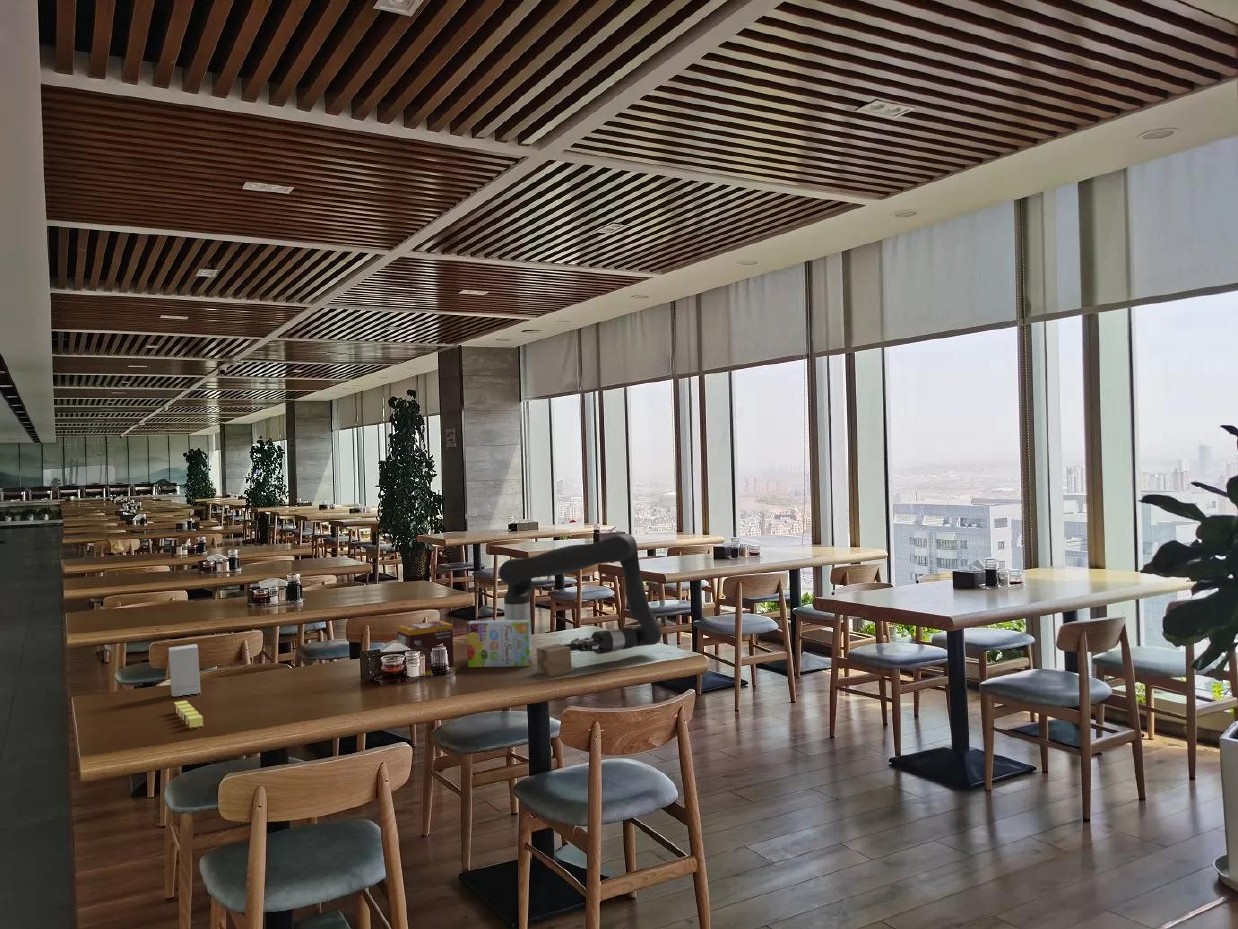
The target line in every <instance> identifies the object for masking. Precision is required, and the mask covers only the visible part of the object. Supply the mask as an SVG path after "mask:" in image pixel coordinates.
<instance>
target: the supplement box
mask: <svg viewBox="0 0 1238 929" xmlns="http://www.w3.org/2000/svg"><path fill="white" fill-rule="evenodd" d="M396 627H397V644H398V643H401V644H402V645H404V646H407V647H408V648H410V649H416V650H421V652H422V653H423V654H424V655H425V671H426V675H427V676H433V675H432V670H431V656H430V655H431V652H432V648H433V647H435V646H437V645H440V644H442V643H443V645H444V646H445V647H446V650H447V654H448V661H449V667H450V668H451V669H452V670H454V671H455V666H454V632H453V629H454V627H453V624H452V623H449V622H445V621H442V620H436V621H435V620H434V621H429V622H420V623H419V622H418V623H411V624H406V625H398V626H396ZM398 641H399V642H398ZM427 676H426V677H427Z"/></svg>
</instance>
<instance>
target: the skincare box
mask: <svg viewBox="0 0 1238 929" xmlns="http://www.w3.org/2000/svg"><path fill="white" fill-rule="evenodd" d="M168 662H169V665H168V666H169V674H170V690H171V697H172V696H182V695H190V694H197V695H199V694H198V693H200V694H201V693H202V692H201V681H200V680H201V679H200V677H201V676H200V666H199V665H200V664H199V663H200V662H199V648H198V644H197V643H193V644H186V645H180V646H179V645H178V646H173V647H172V646H171V647H168ZM190 696H191V695H190Z"/></svg>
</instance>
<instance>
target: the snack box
mask: <svg viewBox="0 0 1238 929" xmlns="http://www.w3.org/2000/svg"><path fill="white" fill-rule="evenodd" d="M532 642H533V640H532V619H530V620H505V619H503V620H502V619H498V620H497V619H496V620H493V619H492V620H470V621H467V623H466V646H467V648H466V649H467V651H466V652H467V668H497V667H498V668H503V667H504V668H505V667H507V668H508V667H509V668H510V667H514V668H515V667H530V666H531V665H532V664H533V645H532Z"/></svg>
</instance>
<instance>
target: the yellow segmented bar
mask: <svg viewBox="0 0 1238 929" xmlns="http://www.w3.org/2000/svg"><path fill="white" fill-rule="evenodd" d="M174 711H175V712H176V713H177V714H178V715H179V717H181V719H183V720H184V722H185V723H186V724H187V725H188V726H189V727H190V728H191V727H198V726H203V727H204V716H202V715H201V714H200V713H199V711H198V710H196V709H195V707H193V706H192V705H191V703H189V701H187V700H181V701H175V702H173V712H174ZM179 717H178V718H179ZM181 719H180V720H181ZM184 722H183V723H184ZM188 726H187V727H188Z"/></svg>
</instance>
